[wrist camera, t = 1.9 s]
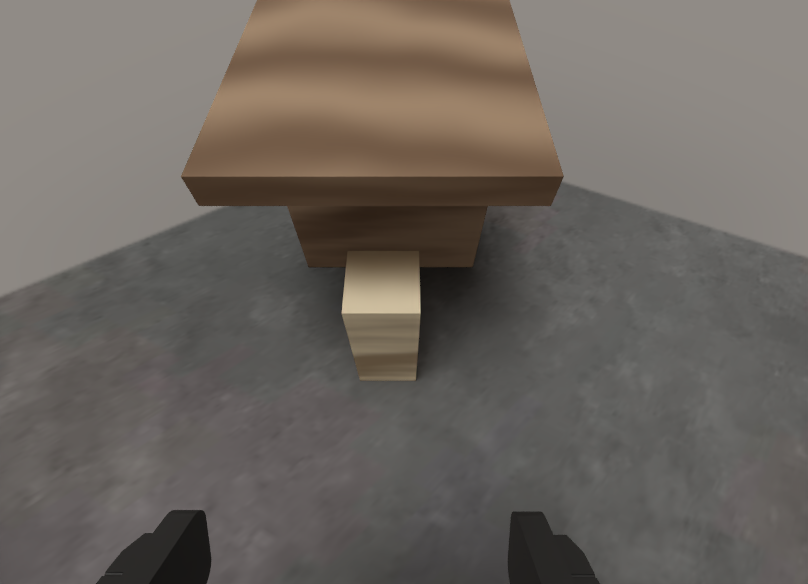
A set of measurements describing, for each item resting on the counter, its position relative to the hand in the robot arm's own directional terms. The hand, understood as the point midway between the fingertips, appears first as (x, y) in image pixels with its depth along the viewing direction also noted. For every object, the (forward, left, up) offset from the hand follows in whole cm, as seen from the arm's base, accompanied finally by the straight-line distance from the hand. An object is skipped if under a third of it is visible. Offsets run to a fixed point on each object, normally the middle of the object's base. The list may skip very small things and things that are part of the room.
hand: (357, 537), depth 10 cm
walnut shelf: (-13, -13, -15) cm, 24 cm away
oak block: (-8, -8, -15) cm, 19 cm away
